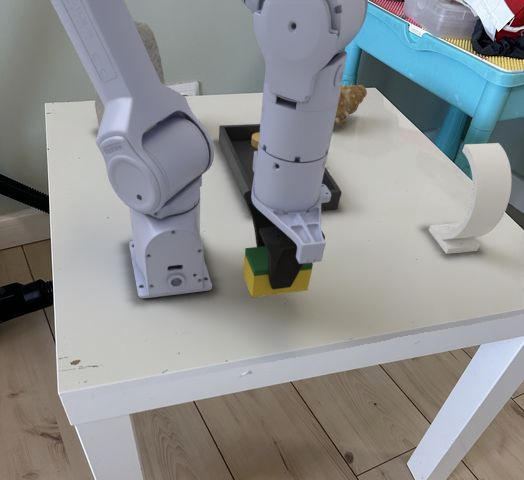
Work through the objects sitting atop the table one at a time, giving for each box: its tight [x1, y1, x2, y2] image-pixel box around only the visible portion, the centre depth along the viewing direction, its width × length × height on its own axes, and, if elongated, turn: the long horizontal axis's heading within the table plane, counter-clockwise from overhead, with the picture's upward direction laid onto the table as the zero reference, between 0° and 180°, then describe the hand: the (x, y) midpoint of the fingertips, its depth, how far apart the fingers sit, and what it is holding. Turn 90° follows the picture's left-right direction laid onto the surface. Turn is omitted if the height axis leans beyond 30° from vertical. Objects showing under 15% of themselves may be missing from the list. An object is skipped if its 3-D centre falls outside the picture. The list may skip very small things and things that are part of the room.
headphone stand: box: [428, 142, 512, 255], centre depth 61 cm, size 5×6×12 cm
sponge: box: [242, 246, 314, 298], centre depth 50 cm, size 6×4×4 cm, turn 106°
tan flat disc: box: [251, 132, 260, 149], centre depth 76 cm, size 3×3×1 cm
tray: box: [218, 123, 343, 215], centre depth 71 cm, size 19×12×3 cm, turn 16°
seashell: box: [334, 84, 368, 126], centre depth 83 cm, size 9×8×10 cm
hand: (274, 272), depth 51 cm, fingers closed on sponge, 3 cm apart
